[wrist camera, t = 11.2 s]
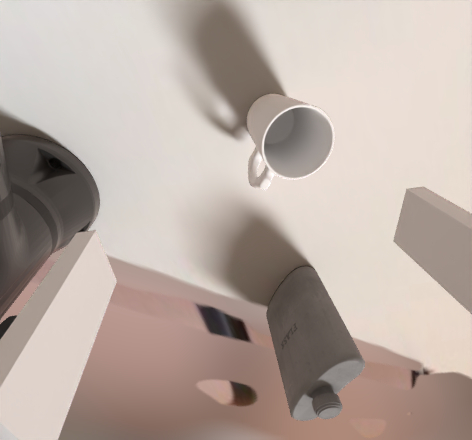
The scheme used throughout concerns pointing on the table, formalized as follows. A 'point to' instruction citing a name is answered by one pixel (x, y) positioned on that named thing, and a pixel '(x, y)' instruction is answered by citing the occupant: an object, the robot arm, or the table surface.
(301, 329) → the flask
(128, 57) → the table surface
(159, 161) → the table surface
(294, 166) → the mug
